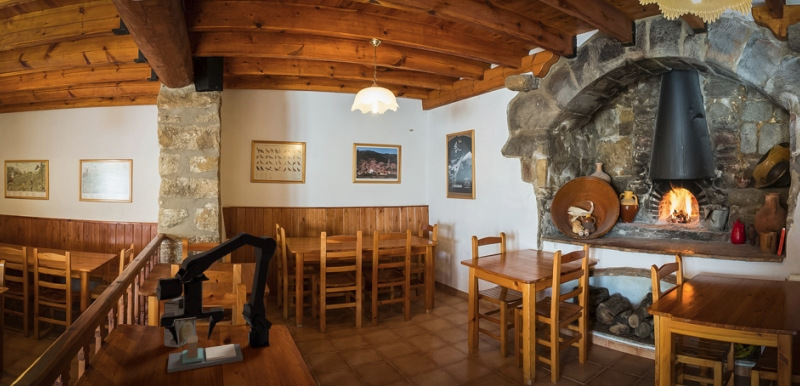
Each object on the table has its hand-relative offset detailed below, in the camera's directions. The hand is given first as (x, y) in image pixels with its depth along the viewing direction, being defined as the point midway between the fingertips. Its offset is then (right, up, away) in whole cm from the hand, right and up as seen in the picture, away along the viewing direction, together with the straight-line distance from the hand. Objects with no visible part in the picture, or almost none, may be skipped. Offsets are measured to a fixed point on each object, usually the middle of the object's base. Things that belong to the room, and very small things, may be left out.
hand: (193, 342), depth 139 cm
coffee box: (-12, -6, +15) cm, 21 cm away
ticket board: (+3, -6, +2) cm, 7 cm away
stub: (0, -5, 0) cm, 5 cm away
